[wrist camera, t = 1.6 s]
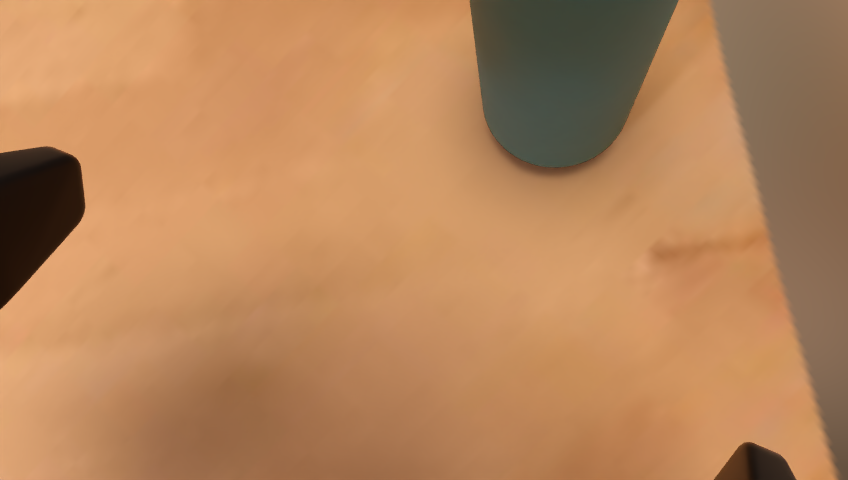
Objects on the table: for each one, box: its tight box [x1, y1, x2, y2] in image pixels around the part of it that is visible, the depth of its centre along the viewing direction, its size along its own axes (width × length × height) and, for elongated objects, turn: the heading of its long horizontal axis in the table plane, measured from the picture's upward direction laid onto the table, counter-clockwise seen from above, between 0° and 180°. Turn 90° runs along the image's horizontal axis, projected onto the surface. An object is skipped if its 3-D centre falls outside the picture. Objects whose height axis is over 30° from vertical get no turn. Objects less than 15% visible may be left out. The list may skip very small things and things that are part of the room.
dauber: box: [470, 0, 678, 168], centre depth 17 cm, size 4×4×13 cm
